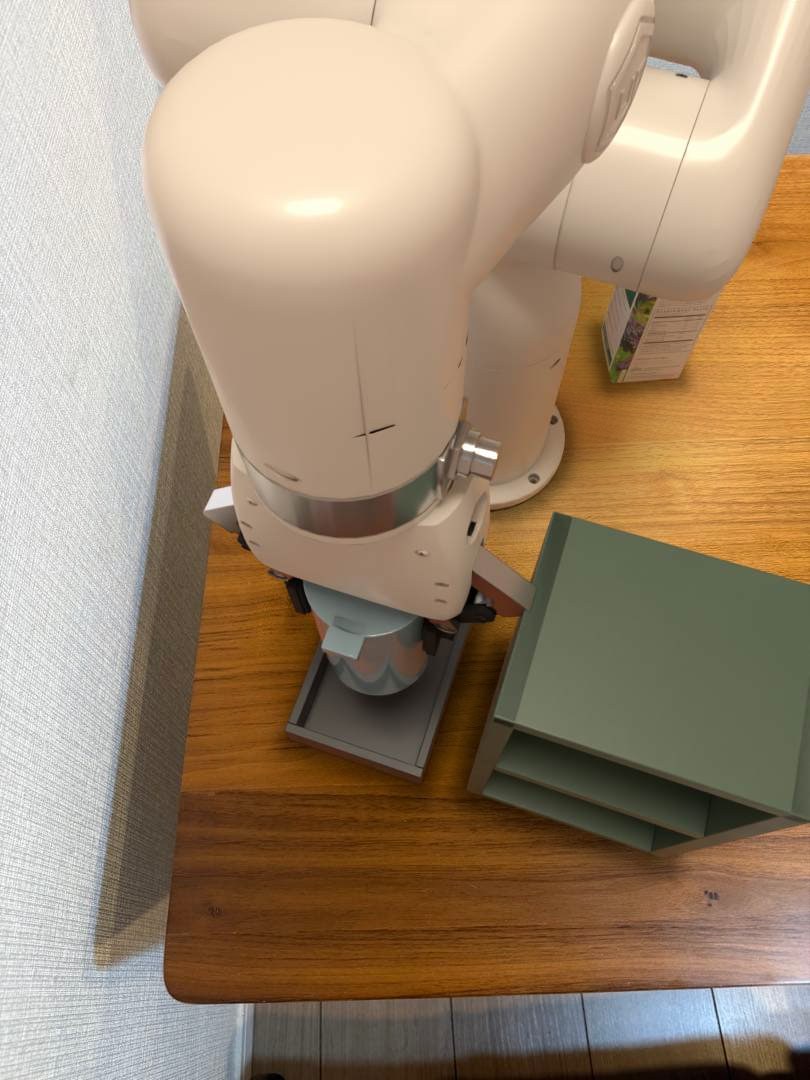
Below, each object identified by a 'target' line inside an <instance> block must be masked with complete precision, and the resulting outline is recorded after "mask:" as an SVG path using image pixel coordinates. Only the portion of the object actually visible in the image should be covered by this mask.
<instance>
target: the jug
mask: <svg viewBox="0 0 810 1080" xmlns="http://www.w3.org/2000/svg"><path fill="white" fill-rule="evenodd" d="M303 585H304V590H305V594H306V597H307V600H308V603H309V606H310V609H311V612H310V613H311V614H312V618H313V621H314V623H315V626H316V629H317V632H318V635H319V638H320V640H321V641H322V646H321V648H322V651H323V652H325V653H326V655H327V658H328V661H329V663H330V666H331V668H332V670H333V671H334V673H335V674H336V676H337V677H338V678H339V679H340V680H341V681H342V682H343V683H344V684H346V685H347V686H348V687H350V688H352V689H353V690H356V691H358V692H360V693H364V694H368V695H388V694H392V693H396V692H398V691H401V690H403V689H405V688H407V687H408V686H410V685H411V684H412V683H414V682H415V681H416V680H417V679H418V678H419V677H420V676H421V674H422V673H423V672H424V670H425V668H426V667H427V665H428V662H429V660H430V656H431V655H428V654H425V651H424V650H422V647H423V627H424V623H425V620H426V617H422V616H419V615H415V614H412V613H408V612H405V611H401V610H398V609H395V608H391V607H388V606H385V605H382V604H378V603H375V602H372V601H369V600H365V599H362V598H359V597H356V596H353V595H349V594H346V593H343V592H340V591H337V590H334V589H331V588H327V587H324V586H321V585H318V584H315V583H312V582H309V581H306V580H303Z"/></svg>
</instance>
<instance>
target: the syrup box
mask: <svg viewBox="0 0 810 1080" xmlns="http://www.w3.org/2000/svg"><path fill="white" fill-rule="evenodd" d="M662 218H663V217H662ZM655 238H656V237H655ZM648 258H649V257H648ZM647 261H648V260H647ZM642 275H643V274H642ZM641 278H642V277H641ZM640 281H641V280H640ZM639 284H640V283H639ZM638 287H639V286H638ZM724 288H725V286H724V287H723V288H722V289H721V290H719V291H718V292H717V293H715V294H713V295H712V296H710V297H708V298H705V299H702V300H697V301H690V302H684V301H672V300H667V299H662V298H658V297H653V296H650V295H646V294H643V293H639V292H637V291H636V292H635V291H632V290H628V289H625V288H621V287H617V286H614V288H613V291H612V295H611V298H610V300H609V304H608V307H607V310H606V314H605V316H604V320H603V323H602V326H601V330H600V332H601V339H602V345H603V350H604V357H605V360H606V361H605V362H606V365H607V372H608V375H609V381H610V383H611V384H622V383H623V384H624V383H638V382H649V381H650V382H651V381H660V380H661V381H663V380H675V379H679V378H680V376H681V374H682V372H683V370H684V368H685V366H686V364H687V361H688V359H689V358H690V356H691V354H692V352H693V350H694V348H695V346H696V344H697V342H698V340H699V338H700V336H701V334H702V332H703V330H704V328H705V325H707V322H708V320H709V318H710V316H711V314H712V312H713V310H714V308H715V306H716V304H717V302H718V300H719V298H720V296H721V294H722V292H723V290H724Z"/></svg>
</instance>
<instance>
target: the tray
mask: <svg viewBox="0 0 810 1080" xmlns="http://www.w3.org/2000/svg"><path fill="white" fill-rule="evenodd" d="M472 626H473V623H460V626H459V629H458V633H456V634H455V637H454V640H453V641H451V640H448V639H445V638H442V637H441V640H440V643H439V646H438V649H437V652H436V655H435V657H434V656H430V660H429V662H428V665H427V667H426V668H425V670H424V672H423V673H422V674H421V676H420V677H419V678H418V679H417V680H416V681H415V682H414V683H412V684H411V685H410V686H408V687H407V688H405V689H403V690H401V691H398V692H396V693H392V694H388V695H368V694H364V693H360V692H358V691H356V690H353V689H352V688H350V687H348V686H347V685H346V684H344V683H343V682H342V681H341V680H340V679H339V678H338V677H337V676H336V674H335V673H334V671H333V670H332V668H331V666H330V663H329V661H328V658H327V655H326V653H325V652H323V651H322V648H321V646H322V641H321V639H319V640H320V641H319V642H318V645H317V647H316V650H315V652H314V655H313V658H312V659H311V662H310V665H309V668H308V671H307V673H306V676H305V678H304V680H303V683H302V686H301V687H300V690H299V693H298V696H297V698H296V700H295V704H294V705H293V709H292V711H291V714H290V716H289V718H288V722H287V724H286V725H285V729H284V732H285V733H286V735H287V736H288V738H289V739H290V741H292V742H295V743H298V744H301V745H303V746H306V747H309V748H313V749H315V750H318V751H321V752H323V753H326V754H329V755H332V756H335V757H338V758H341V759H344V760H346V761H350V762H352V763H355V764H358V765H361V766H364V767H367V768H370V769H373V770H376V771H379V772H382V773H384V774H388V775H390V776H393V777H397V778H398V779H402V780H404V781H408V782H410V783H414V784H416V785H419V786H420V785H422V782H423V779H424V776H425V773H426V770H427V767H428V765H429V764H428V763H429V761H430V757H431V754H432V751H433V748H434V746H435V743H436V739H437V735H438V733H439V729H440V726H441V724H442V720H443V717H444V714H445V711H446V707H447V705H448V701H449V698H450V695H451V691H452V689H453V686H454V682H455V679H456V676H457V674H458V673H457V672H458V669H459V666H460V663H461V660H462V658H463V653H464V651H465V648H466V645H467V641H468V638H469V635H470V632H471V629H472Z"/></svg>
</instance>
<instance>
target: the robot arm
mask: <svg viewBox="0 0 810 1080" xmlns="http://www.w3.org/2000/svg"><path fill="white" fill-rule="evenodd" d="M128 7H129V13H130V20H131V23H132V28H133V30H134V34H135V37H136V40H137V44H138V47H139V50H140V53H141V56H142V57H143V59H144V61H145V63H146V66H147V67H148V69H149V71H150V73H151V74H152V77H153V78H154V79H155V81H156V82H157V84H158V85H159V87H160V88H161V89H162V91H161V93H160V94H159V96H158V97H157V99H156V102H155V103H154V106H153V108H152V110H151V113H150V114H149V115H150V116H149V118H148V120H147V123H146V126H145V128H144V132H143V133H144V134H143V140H142V146H141V155H140V168H141V169H140V170H141V185H142V186H141V187H142V192H143V198H144V201H145V204H146V207H147V211H148V213H149V217H150V220H151V222H152V223H151V224H152V227H153V230H154V234H155V236H156V237H155V238H156V240H157V241H158V245H159V248H160V250H161V252H162V255H163V258H164V260H165V263H166V265H167V268H168V270H169V273H170V276H171V278H172V281H173V284H174V286H175V289H176V291H177V294H178V296H179V299H180V302H181V304H182V307H183V309H184V311H185V314H186V318H187V320H188V322H189V325H190V327H191V330H192V333H193V335H194V338H195V340H196V343H197V345H198V348H199V351H200V353H201V355H202V358H203V361H204V363H205V366H206V368H207V371H208V373H209V376H210V380H211V381H212V384H213V387H214V390H215V392H216V395H217V397H218V400H219V403H220V406H221V408H222V411H223V414H224V416H225V419H226V422H227V424H228V427H229V430H230V432H231V435H232V437H231V445H230V446H231V447H230V462H229V463H230V471H229V473H230V485H228V486H225V487H220V488H215V489H214V490H213V491H212V493H211V495H210V497H209V498H208V501H207V504H206V505H205V507H204V508H203V511H202V514H203V516H204V517H205V518H207V519H209V520H210V521H211V522H213V523H215V524H216V525H218V526H219V527H221V528H222V529H224V530H225V531H227V532H229V533H230V534H237V535H238V536H237V539H236V541H237V543H239V544H240V545H241V546H240V547H241V548H242V549H244V550H245V551H248V552H251V553H252V555H254V557H255V558H256V559H257V560H258V561H259V562H260V563H261V564H263V565H264V566H266V567H267V569H266V573H267V574H268V575H269V576H271V577H272V578H274V579H276V580H279V581H282V582H283V583H284V585H285V589H286V591H287V594H288V596H289V599H290V601H291V604H292V606H293V609H294V611H295V613H296V614H299V615H304V616H306V615H307V614H308V615H310V614H311V613H312V612H311V609H310V606H309V603H308V600H307V597H306V594H305V590H304V585H303V580H306V581H309V582H312V583H315V584H318V585H321V586H324V587H327V588H331V589H334V590H337V591H340V592H343V593H346V594H349V595H353V596H356V597H359V598H362V599H365V600H369V601H372V602H375V603H378V604H382V605H385V606H388V607H391V608H395V609H398V610H401V611H405V612H408V613H412V614H415V615H419V616H422V617H426V620H425V623H424V627H423V647H422V650H424V651H425V654H428V655H431V656H434V657H435V655H436V652H437V649H438V646H439V643H440V640H441V637H442V638H445V639H448V640H451V641H453V640H454V637H455V634H456V633H458V629H459V626H460V623H472V624H485V625H486V623H493V622H495V619H496V616H500V617H502V618H504V619H505V618H518V617H522V615H523V612H524V611H526V612H530V613H531V611H532V608H533V604H534V601H535V598H536V594H537V591H538V588H537V587H536V586H535V585H533V584H532V583H531V582H530V580H528V579H526V578H525V577H524V576H523V575H521V574H520V573H519V572H517V571H516V570H515V569H513V568H512V567H511V566H509V565H508V564H507V563H505V562H504V561H503V560H501V559H500V558H498V557H497V556H496V555H495V554H494V553H492V552H491V551H489V550H488V549H486V544H487V540H488V535H489V530H490V529H489V528H490V521H491V520H490V519H491V511H494V510H500V509H506V508H511V507H514V506H516V505H518V504H521V503H524V502H526V501H528V500H529V499H531V498H533V497H534V496H536V495H537V494H539V492H541V491H542V490H543V489H544V488H545V487H546V486H547V485H548V484H549V483H550V481H551V480H552V478H553V477H554V475H555V474H556V473H557V472H558V471H557V470H558V468H559V466H560V464H561V461H562V458H563V453H564V450H565V443H566V442H565V441H566V433H565V427H564V422H563V418H562V416H561V413H560V411H559V409H558V407H557V405H556V402H557V398H558V394H559V391H560V386H561V382H562V379H563V375H564V372H565V367H566V364H567V361H568V356H569V352H570V349H571V344H572V341H573V339H574V338H573V337H574V333H575V331H576V325H577V323H578V318H579V315H580V310H581V306H582V300H583V299H582V296H583V282H582V281H583V279H582V278H585V279H589V280H593V281H597V282H599V283H603V284H607V285H610V286H613V287H615V286H617V287H621V288H625V289H628V290H632V291H635V292H636V291H637V292H639V293H643V294H646V295H650V296H653V297H658V298H662V299H667V300H672V301H684V302H690V301H697V300H702V299H705V298H708V297H710V296H712V295H713V294H715V293H717V292H718V291H719V290H721V289H722V288H723V287H724V288H725V287H726V285H727V284H728V283H730V282H731V280H732V279H733V277H734V276H735V274H736V273H737V272H738V270H739V269H740V267H741V265H742V263H743V262H744V260H745V258H746V256H747V255H748V252H749V251H750V249H751V247H752V244H753V242H754V241H755V238H756V235H757V234H758V231H759V229H760V228H761V227H760V226H761V224H762V222H763V218H764V216H765V214H766V211H767V208H768V205H769V203H770V200H771V198H772V195H773V192H774V191H775V190H774V189H775V187H776V183H777V181H778V178H779V175H780V172H781V170H782V167H783V164H784V162H785V158H786V156H787V152H788V150H789V148H790V144H791V141H792V138H793V135H794V133H795V130H796V127H797V124H798V122H799V119H800V116H801V113H802V110H803V108H804V105H805V103H806V99H807V98H808V94H809V91H810V0H128ZM648 58H653V59H657V60H658V59H659V60H663V61H665V62H670V63H672V64H673V63H674V64H677V65H682V66H685V67H689V68H691V69H693V70H695V71H696V72H697V74H698V75H699V77H698V76H693V75H689V74H684V73H680V72H676V71H672V70H667V69H663V68H660V67H654V66H650V65H647V63H648ZM662 217H663V218H662ZM655 237H656V238H655ZM648 257H649V258H648ZM647 260H648V261H647ZM642 274H643V275H642ZM641 277H642V278H641ZM640 280H641V281H640ZM639 283H640V284H639ZM638 286H639V287H638ZM724 288H723V289H724Z"/></svg>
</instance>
